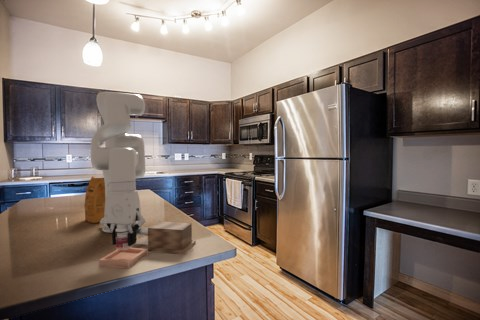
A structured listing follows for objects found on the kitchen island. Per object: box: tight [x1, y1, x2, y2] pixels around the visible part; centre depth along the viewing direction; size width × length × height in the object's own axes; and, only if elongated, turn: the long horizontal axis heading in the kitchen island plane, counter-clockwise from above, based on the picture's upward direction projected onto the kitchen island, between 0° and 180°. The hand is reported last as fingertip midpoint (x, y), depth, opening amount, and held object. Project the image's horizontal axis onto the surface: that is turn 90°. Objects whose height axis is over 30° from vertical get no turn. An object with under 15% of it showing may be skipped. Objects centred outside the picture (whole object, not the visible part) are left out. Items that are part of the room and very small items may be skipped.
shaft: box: [132, 225, 148, 237], centre depth 88 cm, size 13×5×5 cm, turn 78°
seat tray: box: [98, 248, 149, 269], centre depth 76 cm, size 10×10×2 cm
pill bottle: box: [115, 224, 133, 250], centre depth 76 cm, size 5×5×8 cm
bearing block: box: [131, 221, 197, 255], centre depth 87 cm, size 22×10×8 cm, turn 78°
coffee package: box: [84, 175, 105, 224], centre depth 121 cm, size 10×12×22 cm
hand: (124, 243), depth 76 cm, fingers closed on pill bottle, 4 cm apart
